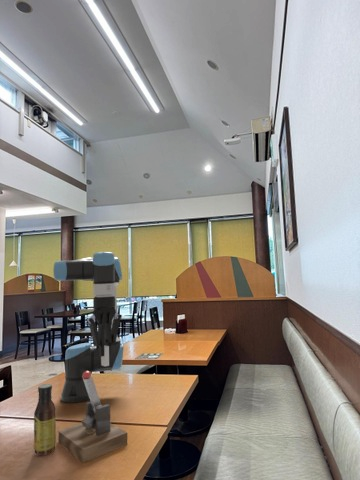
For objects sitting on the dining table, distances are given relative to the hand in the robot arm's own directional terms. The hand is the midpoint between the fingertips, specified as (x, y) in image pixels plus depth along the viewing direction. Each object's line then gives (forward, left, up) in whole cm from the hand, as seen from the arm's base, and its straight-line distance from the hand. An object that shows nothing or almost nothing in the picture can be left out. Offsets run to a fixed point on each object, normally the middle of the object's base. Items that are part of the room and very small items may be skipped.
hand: (105, 365), depth 113 cm
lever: (0, -4, -17) cm, 17 cm away
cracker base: (0, -5, -23) cm, 24 cm away
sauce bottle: (-6, -18, -23) cm, 30 cm away
